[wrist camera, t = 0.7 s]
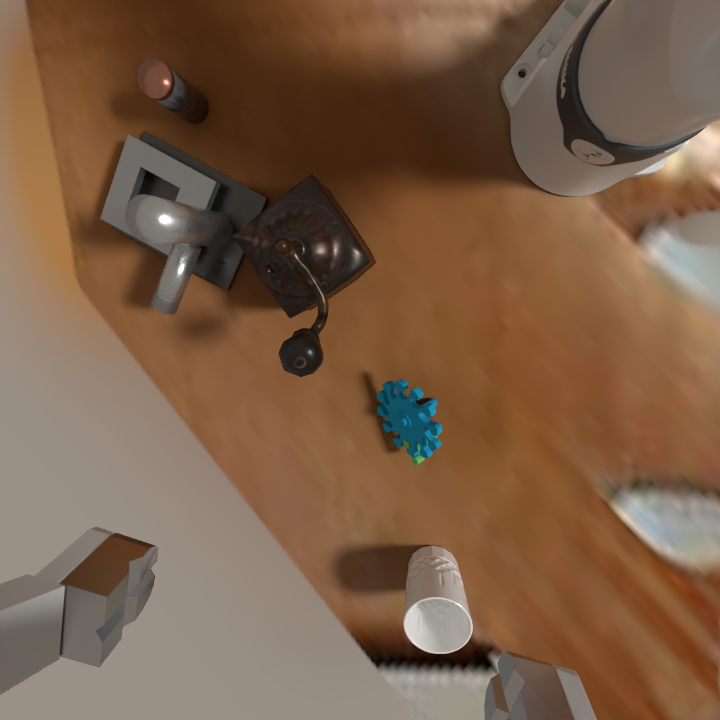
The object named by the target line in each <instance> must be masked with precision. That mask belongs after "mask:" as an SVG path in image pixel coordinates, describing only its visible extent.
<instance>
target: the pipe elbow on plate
mask: <svg viewBox="0 0 720 720" xmlns="http://www.w3.org/2000/svg"><path fill="white" fill-rule="evenodd" d="M268 200H269V199H268V198H266V197H264V196H262V195H261V194H259V193H257V192H255V191H253V190H251V189H250V188H248V187H246V186H244V185H242V184H240V183H239V182H237V181H235V180H233V179H231V178H229V177H228V176H226V175H224V174H222V173H220V172H218V171H217V170H215V169H213V168H211V167H209V166H207V165H206V164H204V163H202V162H200V161H198V160H196V159H194V158H193V157H191V156H189V155H187V154H185V153H183V152H182V151H180V150H178V149H176V148H174V147H172V146H171V145H169V144H167V143H165V142H163V141H161V140H160V139H158V138H156V137H154V136H152V135H150V134H149V133H147V132H144V133H143V136H142V139H141V140H139V139H138V138H136V137H134V136H131V135H129V134H128V135H127V139H126V142H125V145H124V148H123V151H122V154H121V157H120V160H119V163H118V166H117V169H116V172H115V175H114V178H113V181H112V184H111V187H110V190H109V193H108V196H107V199H106V202H105V206H104V209H103V212H102V215H101V218H100V219H102V220H104V221H106V222H107V223H109V224H111V225H112V229H114V230H116V231H118V232H120V233H122V234H123V235H125V236H127V237H129V238H131V239H133V240H135V241H136V242H138V243H140V244H142V245H144V246H146V247H147V248H149V249H151V250H153V251H155V252H157V253H159V254H160V255H162V256H164V257H166V258H168V259H167V261H166V264H165V266H164V269H163V272H162V274H161V277H160V280H159V282H158V285H157V287H156V290H155V293H154V295H153V298H152V301H151V303H150V305H151V306H152V307H153V308H154V309H156V310H158V311H160V312H163V313H166V314H176V312H177V309H178V307H179V304H180V302H181V299H182V297H183V294H184V292H185V289H186V287H187V284H188V282H189V279H190V277H191V274H192V272H194V273H196V274H197V275H199V276H201V277H203V278H205V279H207V280H209V281H210V282H212V283H214V284H216V285H218V286H220V287H222V288H223V289H225V290H230V288H231V286H232V283H233V281H234V279H235V276H236V274H237V272H238V269H239V267H240V265H241V263H242V260H243V258H244V256H245V254H244V253H243V251H242V249H241V248H240V246H239V245H238V243H237V242H236V240H235V239H234V237H233V235H234V234H235V233H237V232H238V231H239V230H240V229H241V228H243V227H244V226H245V225H246V224H247V223H249V222H250V221H251V220H252V219H253V218H255V217H256V216H257V215H259V214H260V213H261V212H263V211H264V209H265V207H266V205H267V202H268Z"/></svg>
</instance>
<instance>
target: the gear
mask: <svg viewBox="0 0 720 720" xmlns="http://www.w3.org/2000/svg"><path fill="white" fill-rule="evenodd" d="M395 387H396V391H397V395H396V394H395V392H394V390H395ZM383 388H384V390H382V391H380V392H379V393H378V394H377V395H376V397H377V399H378V400H379V401H381V402H382V403H383V404H381V405H379V406H378V407H377V413H378V415H380V416H384V417H386V418H387V419H388V420H389V421H386V422H385V423H383V428H384V430H385V432H387V433H388V432H390V431H395V432H397V433H398V434H399V435H398V436H397V437H395V438H394V439H393V441H394V443H395V444H396V446H397V447H398V448H399V447H401V446H402V445H404V446H405V447H406V448H407V450H406V451H407V453H408V454H409V455H410V456H412V457H413V458H412V462H413V464H415V465H418V464H419V463H421V462H422V461H423V460H425V458H428V457H430V456H431V455H432V451H434V450H436V449H437V448H438V447H440V446H441V442H440V441H439V440H438V439H437V435H439V434H440V433H441V432H442V425H441V424H440V423H438V422H433V421H431V420H430V419H428V418H427V417H431V416H433V415H434V414H436V410H435V406H436V405H437V401H436V400H435V399H434V398H432V399H430V400H429V401H427V402H426V403H424V404H422V405H418V404H417V403H416V402H415V400H418V399H420V398H422V397H423V393H422V391H421V390H420V389H419V388H418V387H416V388H414V389H412V390H411V391H410V395H409V397H407V396H406V395H405V394H404V390H405V389H407V388H408V383H407V382H406V381H404V380H402V379H400V380H398V381H396V382H395V383H394V382H393V381H388V382H386V383H384V384H383ZM388 397H389V398H388ZM425 415H426V416H427V417H426V416H425Z"/></svg>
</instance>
